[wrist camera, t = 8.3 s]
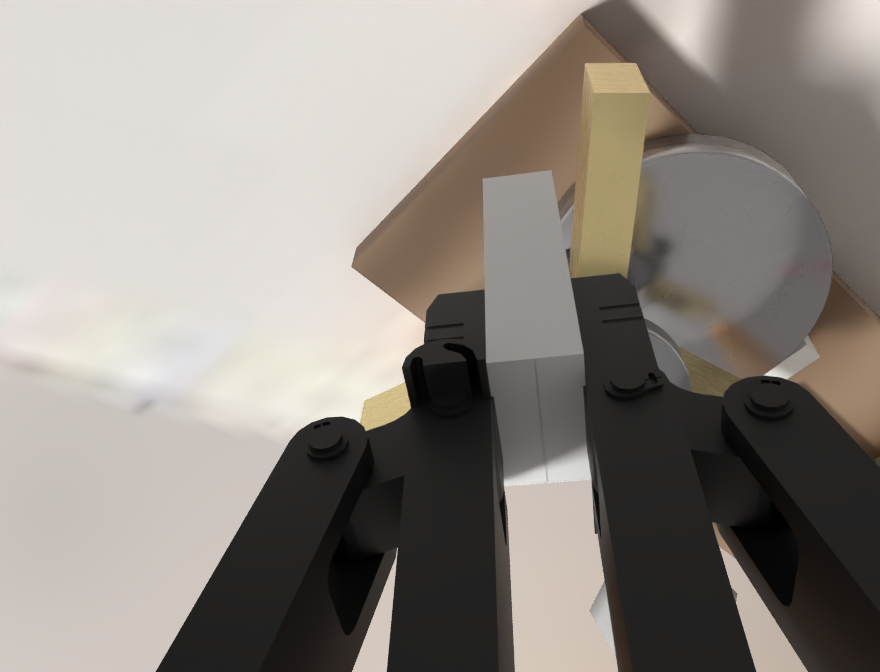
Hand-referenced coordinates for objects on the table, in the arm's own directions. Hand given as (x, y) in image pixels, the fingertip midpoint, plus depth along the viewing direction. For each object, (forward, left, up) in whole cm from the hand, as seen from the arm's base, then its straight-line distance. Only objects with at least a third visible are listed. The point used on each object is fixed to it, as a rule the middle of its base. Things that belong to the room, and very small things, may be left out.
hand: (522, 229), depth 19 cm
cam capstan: (+6, -2, -10) cm, 12 cm away
